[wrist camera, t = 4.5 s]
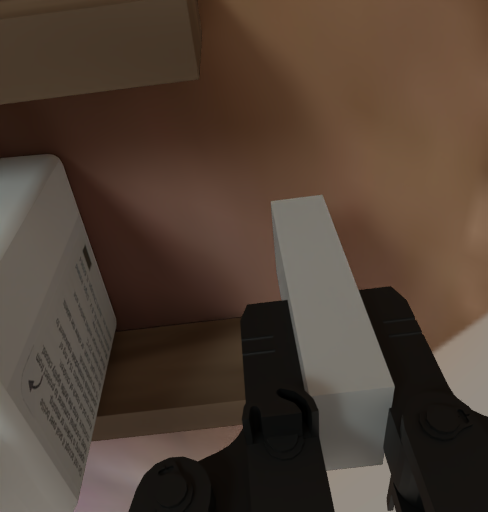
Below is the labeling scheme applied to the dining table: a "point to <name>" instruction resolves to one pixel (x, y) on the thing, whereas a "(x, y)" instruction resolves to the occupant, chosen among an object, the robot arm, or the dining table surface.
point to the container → (47, 337)
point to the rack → (114, 78)
